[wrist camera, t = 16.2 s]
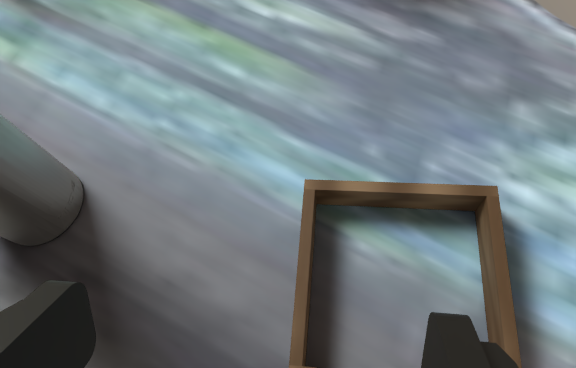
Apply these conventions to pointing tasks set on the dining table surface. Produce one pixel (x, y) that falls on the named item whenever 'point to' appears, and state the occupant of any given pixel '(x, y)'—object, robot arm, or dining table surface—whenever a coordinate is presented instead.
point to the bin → (414, 197)
